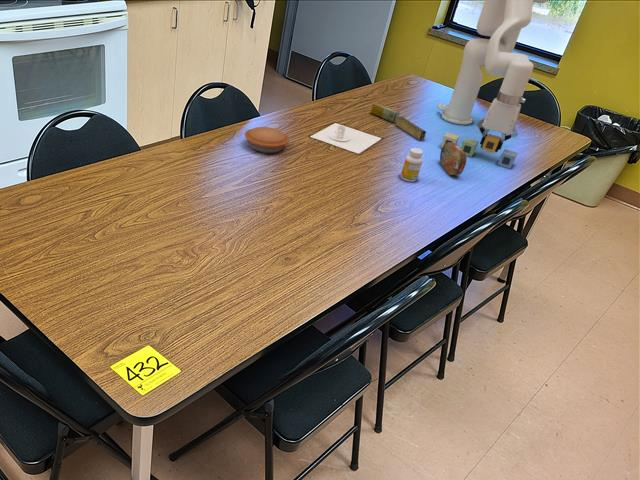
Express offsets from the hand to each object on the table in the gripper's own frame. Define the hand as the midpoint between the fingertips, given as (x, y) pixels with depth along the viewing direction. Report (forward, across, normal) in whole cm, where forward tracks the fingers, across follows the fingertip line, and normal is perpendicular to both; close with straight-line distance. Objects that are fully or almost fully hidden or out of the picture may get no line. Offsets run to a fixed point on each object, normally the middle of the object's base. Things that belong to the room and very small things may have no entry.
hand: (489, 148), depth 205 cm
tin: (+4, +8, +20) cm, 22 cm away
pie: (+4, +65, +49) cm, 82 cm away
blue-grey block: (+4, -7, 0) cm, 8 cm away
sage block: (+4, +7, 0) cm, 8 cm away
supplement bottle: (+4, +17, +37) cm, 41 cm away
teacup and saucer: (+4, +47, +20) cm, 51 cm away
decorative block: (+4, +30, -3) cm, 31 cm away
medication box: (+4, +44, -11) cm, 45 cm away
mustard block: (0, 0, 0) cm, 0 cm away
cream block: (+4, +14, 0) cm, 14 cm away
